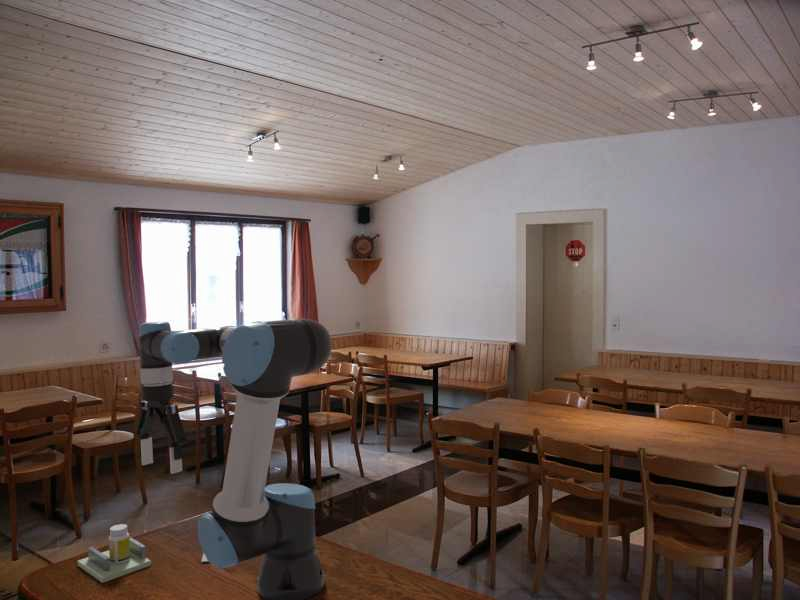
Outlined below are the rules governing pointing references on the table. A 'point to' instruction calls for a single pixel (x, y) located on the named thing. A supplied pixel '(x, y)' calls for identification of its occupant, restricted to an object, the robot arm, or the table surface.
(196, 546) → the table surface
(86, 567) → the board
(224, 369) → the robot arm
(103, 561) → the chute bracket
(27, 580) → the table surface
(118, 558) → the supplement bottle
